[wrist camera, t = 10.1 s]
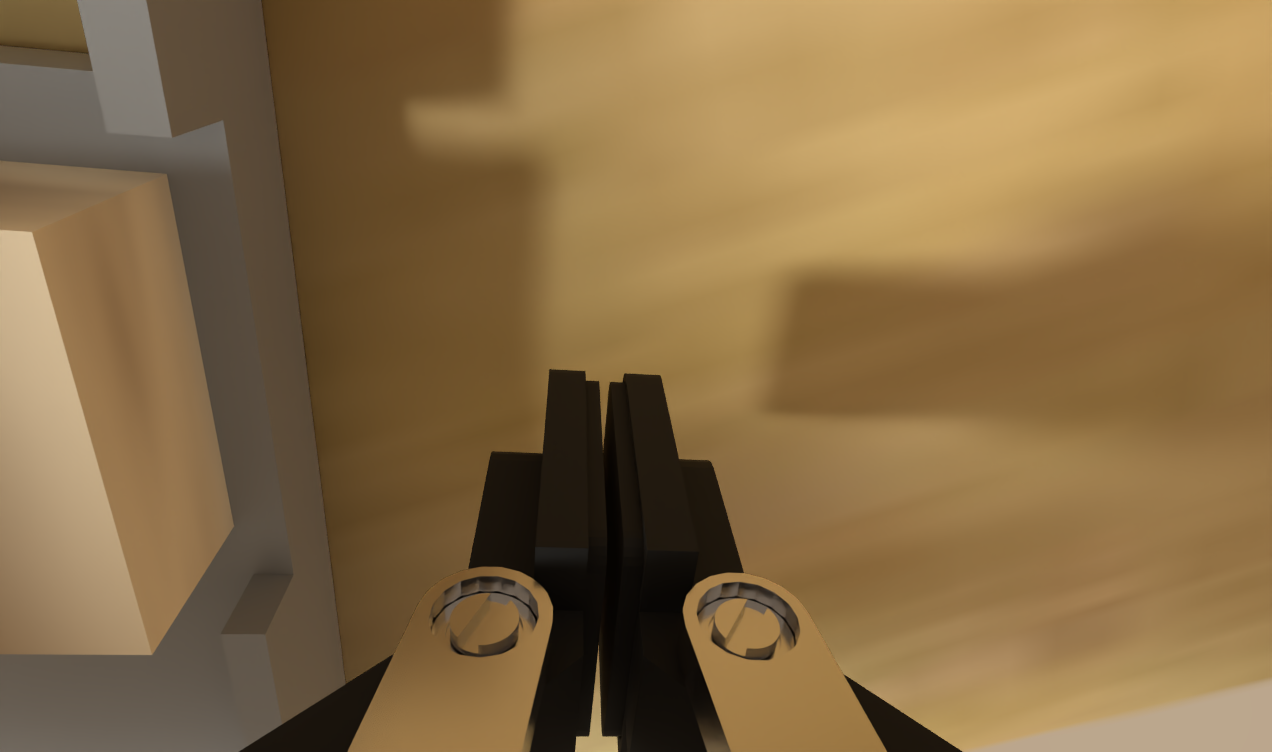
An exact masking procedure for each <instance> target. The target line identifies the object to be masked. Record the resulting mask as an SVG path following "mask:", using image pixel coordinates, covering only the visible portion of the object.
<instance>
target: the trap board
mask: <svg viewBox="0 0 1272 752" xmlns="http://www.w3.org/2000/svg"><path fill="white" fill-rule="evenodd" d="M77 3H78V7H79V12H80V16H81V20H82V25H83V29H84V34H85V38H86V43H87V47H88V51H89V54H88V53H78V52H67V51H56V50H45V49H34V48H24V47H13V46H2V45H0V161H11V162H23V163H36V164H49V165H61V166H74V167H86V168H99V169H112V170H124V171H137V172H149V173H162V174H167V177H168V183H169V188H170V193H171V198H172V204H173V209H174V214H175V219H176V225H177V230H178V235H179V240H180V246H181V251H182V256H183V261H184V267H185V272H186V277H187V282H188V288H189V293H190V298H191V303H192V308H193V314H194V319H195V324H196V329H197V335H198V340H199V345H200V350H201V356H202V361H203V366H204V371H205V377H206V382H207V387H208V392H209V398H210V403H211V408H212V413H213V419H214V424H215V429H216V434H217V440H218V445H219V450H220V455H221V460H222V466H223V471H224V476H225V481H226V487H227V492H228V497H229V502H230V508H231V513H232V518H233V523H234V527H233V529H232V530H231V532H230V533H229V535H228V537H227V538H226V540H225V541H224V543H223V544H222V546H221V548H220V549H219V551H218V552H217V554H216V555H215V557H214V559H213V560H212V562H211V563H210V565H209V566H208V568H207V570H206V571H205V573H204V574H203V576H202V577H201V579H200V581H199V582H198V584H197V585H196V587H195V588H194V590H193V592H192V593H191V595H190V596H189V598H188V599H187V601H186V603H185V604H184V606H183V607H182V609H181V610H180V612H179V614H178V615H177V617H176V618H175V620H174V621H173V623H172V625H171V626H170V628H169V629H168V631H167V632H166V634H165V636H164V637H163V639H162V640H161V642H160V643H159V645H158V647H157V648H156V650H155V651H154V653H153V654H152V655H57V654H0V752H239V751H240V750H242V749H244V748H245V747H247V746H248V745H250V744H251V743H253V742H255V741H256V740H258V739H259V738H261V737H263V736H264V735H266V734H267V733H269V732H271V731H272V730H274V729H275V728H277V727H279V726H280V725H282V724H283V723H285V722H286V721H288V720H290V719H291V718H293V717H294V716H296V715H298V714H299V713H301V712H302V711H304V710H306V709H307V708H309V707H310V706H312V705H314V704H315V703H317V702H318V701H320V700H321V699H323V698H325V697H326V696H328V695H329V694H331V693H333V692H334V691H336V690H337V689H339V688H341V687H342V686H344V685H345V684H346V683H345V674H344V666H343V658H342V650H341V642H340V634H339V626H338V618H337V610H336V602H335V593H334V585H333V577H332V569H331V561H330V553H329V545H328V537H327V529H326V521H325V512H324V504H323V496H322V488H321V480H320V472H319V464H318V456H317V448H316V440H315V432H314V423H313V415H312V407H311V399H310V391H309V383H308V375H307V367H306V359H305V351H304V342H303V334H302V326H301V318H300V310H299V302H298V294H297V286H296V278H295V270H294V262H293V253H292V245H291V237H290V229H289V221H288V213H287V205H286V197H285V189H284V181H283V172H282V164H281V156H280V148H279V140H278V132H277V124H276V116H275V108H274V100H273V91H272V83H271V75H270V67H269V59H268V51H267V43H266V35H265V27H264V19H263V11H262V2H261V0H77Z"/></svg>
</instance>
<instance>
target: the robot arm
mask: <svg viewBox="0 0 1272 752" xmlns="http://www.w3.org/2000/svg"><path fill="white" fill-rule="evenodd" d="M598 645H599V662H600V695H601V726H602V736H617V738H618V752H962V751H961V750H959V749H958V748H956V747H954V746H953V745H951V744H950V743H948V742H947V741H945V740H944V739H942V738H941V737H939V736H938V735H936V734H934V733H933V732H931V731H930V730H928V729H927V728H925V727H924V726H922V725H921V724H919V723H918V722H916V721H914V720H913V719H911V718H910V717H908V716H907V715H905V714H904V713H902V712H901V711H899V710H898V709H896V708H894V707H893V706H891V705H890V704H888V703H887V702H885V701H884V700H882V699H881V698H879V697H878V696H876V695H875V694H873V693H871V692H870V691H868V690H867V689H865V688H864V687H862V686H861V685H859V684H858V683H856V682H855V681H853V680H851V679H850V678H848V677H847V676H845V675H844V674H843V673H842V671H841V669H840V668H839V666H838V664H837V662H836V661H835V659H834V657H833V655H832V653H831V652H830V650H829V648H828V646H827V645H826V643H825V641H824V639H823V638H822V636H821V634H820V632H819V630H818V629H817V627H816V625H815V623H814V622H813V620H812V618H811V616H810V615H809V613H808V611H807V610H806V609H805V608H804V606H803V605H802V604H801V602H800V601H799V600H798V599H797V598H796V597H795V596H794V595H792V594H791V593H790V592H789V591H787V590H786V589H785V588H783V587H782V586H780V585H778V584H776V583H774V582H772V581H770V580H768V579H765V578H762V577H758V576H754V575H750V574H746V573H744V572H743V568H742V565H741V562H740V558H739V555H738V551H737V548H736V544H735V541H734V537H733V534H732V530H731V527H730V523H729V520H728V516H727V513H726V509H725V506H724V502H723V499H722V495H721V492H720V488H719V485H718V481H717V478H716V474H715V471H714V468H713V465H712V463H711V462H710V461H708V460H684V459H679V457H678V453H677V448H676V444H675V439H674V434H673V430H672V425H671V421H670V416H669V411H668V407H667V402H666V397H665V393H664V388H663V384H662V379H661V376H660V375H644V374H625V373H624V377H623V383H620V382H610V385H609V393H608V404H607V415H606V426H605V437H604V448H603V445H602V426H601V407H600V388H599V381H586V374H585V371H570V370H552V369H550V370H549V382H548V395H547V407H546V420H545V433H544V445H543V454H541V453H517V452H492V453H491V456H490V460H489V465H488V471H487V476H486V481H485V486H484V491H483V496H482V502H481V507H480V512H479V517H478V522H477V527H476V532H475V538H474V543H473V548H472V553H471V558H470V563H469V568H468V569H467V570H462V571H459V572H457V573H455V574H452V575H450V576H448V577H446V578H443V579H442V580H441V581H439V582H438V583H437V584H435V585H434V586H433V587H431V588H430V589H429V590H428V591H427V592H426V594H425V595H424V596H423V598H422V599H421V601H420V602H419V603H418V605H417V607H416V609H415V611H414V613H413V615H412V617H411V619H410V622H409V624H408V626H407V628H406V630H405V632H404V634H403V636H402V638H401V640H400V642H399V645H398V647H397V649H396V651H395V653H394V654H393V655H391V656H390V657H388V658H387V659H385V660H384V661H382V662H380V663H379V664H377V665H376V666H374V667H372V668H371V669H369V670H368V671H366V672H364V673H363V674H361V675H360V676H358V677H356V678H355V679H353V680H352V681H350V682H349V683H347V684H345V685H344V686H342V687H341V688H339V689H337V690H336V691H334V692H333V693H331V694H329V695H328V696H326V697H325V698H323V699H321V700H320V701H318V702H317V703H315V704H314V705H312V706H310V707H309V708H307V709H306V710H304V711H302V712H301V713H299V714H298V715H296V716H294V717H293V718H291V719H290V720H288V721H286V722H285V723H283V724H282V725H280V726H279V727H277V728H275V729H274V730H272V731H271V732H269V733H267V734H266V735H264V736H263V737H261V738H259V739H258V740H256V741H255V742H253V743H251V744H250V745H248V746H247V747H245V748H244V749H242V750H240V751H239V752H575V745H576V736H589V733H590V723H591V714H592V704H593V694H594V684H595V674H596V664H597V655H598Z"/></svg>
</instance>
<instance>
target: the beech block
mask: <svg viewBox="0 0 1272 752" xmlns="http://www.w3.org/2000/svg"><path fill="white" fill-rule="evenodd" d="M233 527H234V523H233V518H232V513H231V508H230V502H229V497H228V492H227V487H226V481H225V476H224V471H223V466H222V460H221V455H220V450H219V445H218V440H217V434H216V429H215V424H214V419H213V413H212V408H211V403H210V398H209V392H208V387H207V382H206V377H205V371H204V366H203V361H202V356H201V350H200V345H199V340H198V335H197V329H196V324H195V319H194V314H193V308H192V303H191V298H190V293H189V288H188V282H187V277H186V272H185V267H184V261H183V256H182V251H181V246H180V240H179V235H178V230H177V225H176V219H175V214H174V209H173V204H172V198H171V193H170V188H169V183H168V177H167V174H162V173H149V172H137V171H124V170H112V169H99V168H86V167H74V166H61V165H49V164H36V163H23V162H11V161H0V654H57V655H152V654H153V653H154V651H155V650H156V648H157V647H158V645H159V643H160V642H161V640H162V639H163V637H164V636H165V634H166V632H167V631H168V629H169V628H170V626H171V625H172V623H173V621H174V620H175V618H176V617H177V615H178V614H179V612H180V610H181V609H182V607H183V606H184V604H185V603H186V601H187V599H188V598H189V596H190V595H191V593H192V592H193V590H194V588H195V587H196V585H197V584H198V582H199V581H200V579H201V577H202V576H203V574H204V573H205V571H206V570H207V568H208V566H209V565H210V563H211V562H212V560H213V559H214V557H215V555H216V554H217V552H218V551H219V549H220V548H221V546H222V544H223V543H224V541H225V540H226V538H227V537H228V535H229V533H230V532H231V530H232V529H233Z"/></svg>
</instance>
